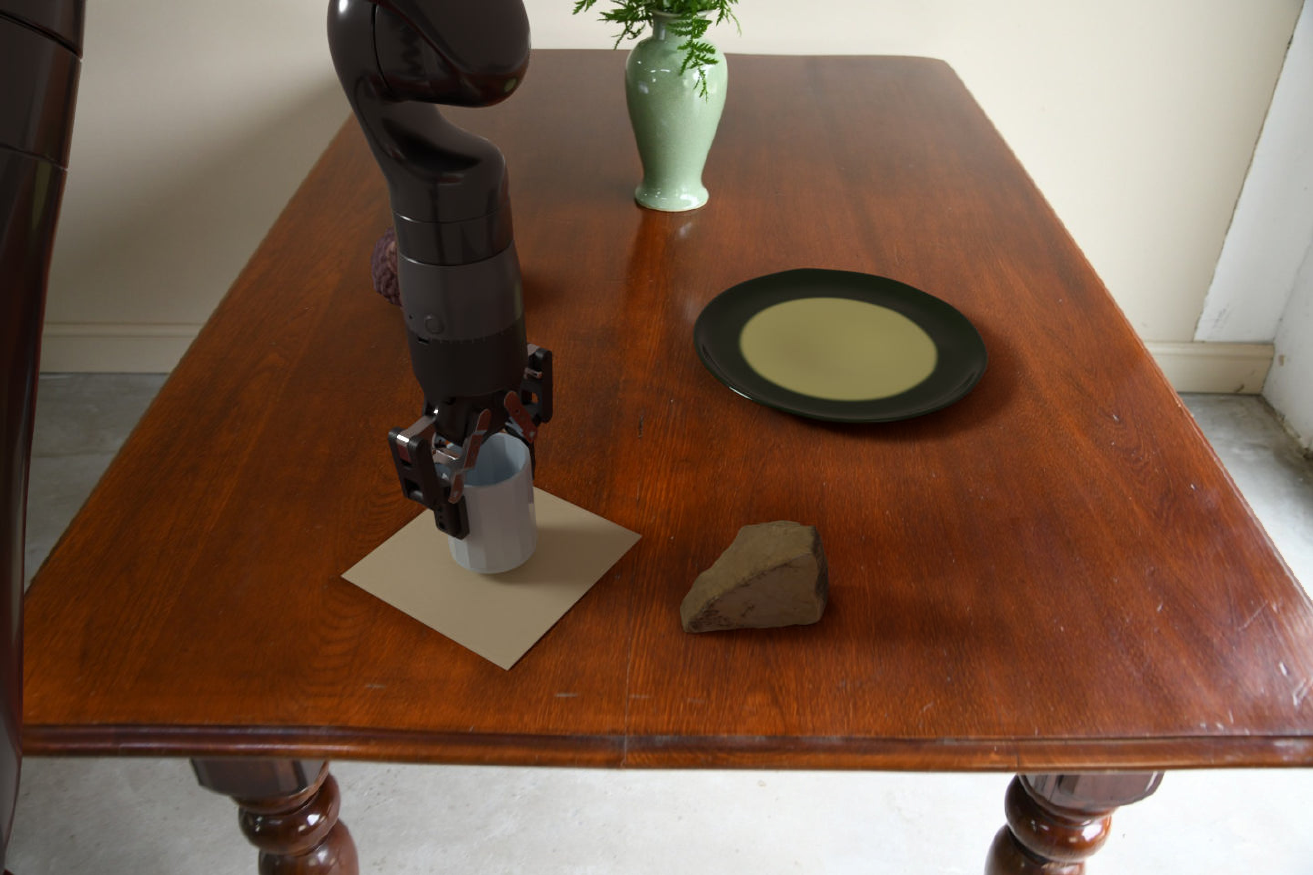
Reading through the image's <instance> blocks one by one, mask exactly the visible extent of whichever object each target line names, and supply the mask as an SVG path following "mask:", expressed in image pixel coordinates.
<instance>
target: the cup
mask: <svg viewBox="0 0 1313 875" xmlns="http://www.w3.org/2000/svg"><path fill="white" fill-rule="evenodd" d="M446 446H447V448H448V449H449V450H451V451H454V452H456V453H458V454H460V455H461V451H462V448H461V447H459V446H457V445H454V444H452V443H450V442H449V443H448V444H446ZM450 473H451V470H450V468H449V467H448V466H446V465H445V469H444V473H443V477H442V478H443V479H445V480H447V481H449V477H450ZM533 486H534V480H532V469H531V458H530V452H529V448H528V447H527V446H526V445H525V444H524V443H523V442H522V441H521V440H520V439H518V438H516V437H514V436H511V435H509V434H508V433H506V432H499V433H497V434H494V435H492V436H490V437H489V438H488V440H487V441H486V442H485V443H484V444H483V445H482V446H480V450H479V454H478V458H477V462H476V466H475V468H474V469H473V470H472V471H469V472H468V473H467V477H466V481H465V485H464V489H463V493H462V495H463V496H465V501H466V508H467V515H468V522H469V529H470V534H469V535H467V536H466V537H465V538H464V539H463V540H459V539H457V538H455V537H452V536H450V535H448V534H447V537H448V543H449V549H450V552H451V555H452V557H453V559H454V560H455V561H456V562H457V563H458V564H459V565H460V566H462V567H463V568H465V569H467V570H470V571H473V572H477V573H485V574H492V573H500V572H505V571H508V570H511V569H514V568H516V567H518V566H520V565H521V564H523V563H524V562H525V561H527V560H528V559H529V558H530V557H531V556H532V554H533V553H534V551H535V549H536V546H537V541H538V540H537V539H538V535H537V524H536V513H535V502H534V491H533Z"/></svg>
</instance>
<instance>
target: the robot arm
mask: <svg viewBox="0 0 1313 875" xmlns="http://www.w3.org/2000/svg"><path fill="white" fill-rule="evenodd" d="M87 12H88V0H0V875H16V874H15V873H13V872H12V871H11V870H8V868H6V866H7V861H8V857H9V854H10V850H11V846H12V842H13V838H14V833H15V829H16V823H17V818H18V811H19V802H20V801H19V800H20V793H21V784H22V783H21V782H22V767H23V742H24V738H23V736H24V682H25V681H24V680H25V679H24V672H25V671H24V670H25V669H24V667H25V665H24V663H25V660H24V659H25V655H24V654H25V572H26V571H25V569H26V568H25V567H26V566H25V564H26V563H25V562H26V561H25V560H26V536H27V534H26V532H27V514H28V513H27V511H28V510H27V509H28V500H29V498H28V496H29V486H30V485H29V484H30V476H31V475H30V473H31V472H30V471H31V461H32V450H33V440H34V432H35V422H36V413H37V401H38V393H39V392H38V391H39V382H40V372H41V371H40V370H41V360H42V359H41V358H42V349H43V348H42V346H43V340H44V331H45V330H44V329H45V320H46V311H47V301H48V294H49V288H50V287H49V286H50V278H51V270H52V265H53V259H54V253H55V246H56V241H57V235H58V230H59V223H60V219H61V218H60V217H61V212H62V206H63V201H64V197H65V196H64V195H65V191H66V185H67V181H68V180H67V179H68V174H69V173H68V168H69V165H70V159H71V151H72V141H73V134H74V127H75V119H76V110H77V104H78V96H79V89H80V80H81V72H82V66H83V65H82V61H81V60H82V59H83V57H84V48H85V38H86V37H85V36H86V25H87ZM326 38H327V44H328V50H329V53H330V57H331V61H332V63H333V68H334V71H335V73H336V75H337V78H338V81H339V83H340V85H341V88H342V91H343V93H344V95H345V97H346V99H347V101H348V103H349V106H350V108H351V110H352V112H353V114H354V116H355V118H356V121H357V123H358V125H359V127H360V130H361V131H362V134H363V135H364V139H365V140H366V142H367V145H368V147H369V150H370V152H371V155H372V157H373V158H374V160H375V162H376V164H377V167H378V169H379V170H380V173H381V175H382V178H383V180H384V183H385V185H386V190H387V197H388V203H389V209H390V214H391V215H390V216H391V219H392V227H394V233H395V239H396V246H397V270H398V284H399V291H400V297H401V303H402V309H403V312H402V315H403V321H404V328H405V332H406V338H407V346H408V350H409V357H410V362H411V370H412V373H413V375H414V377H415V379H416V380H417V382H418V384H419V386H420V388H421V390H422V392H423V403H422V407H421V408H422V409H421V417H420V418H419V419H418V420H417V421H416V422H414V423H413V424H412V425H410V426H409V427H408V428H407V429H404V428H403V427H400V426H398V425H397V426H394V427H392V428H391V430H390V431H389V432H388V435H387V443H388V445H389V448H390V452H391V456H392V459H393V462H394V466H395V470H396V473H397V476H398V481H399V485H400V488H401V491H402V494H403V497H404V498H406V499H408V500H410V501H414V502H415V503H417V504H419V505H421V506H424V507H425V508H426V509H430V510H432V511H433V512H434V515H435V516H434V518H435V524H436V527H437V528H438V530H440V531H442V532H444V533H446V534H448V535H450V536H452V537H455V538H457V539H459V540H463V539H464V538H465V537H466V536H467V535H469V534H470V529H469V522H468V515H467V508H466V501H465V496H463V495H462V493H463V489H464V485H465V481H466V477H467V473H468V472H469V471H472V470H473V469H474V468H475V466H476V462H477V458H478V454H479V450H480V446H482V445H483V444H484V443H485V442H486V441H487V440H488V438H489V437H490V436H492V435H494V434H497V433H501V432H503V433H506V434H509V435H511V436H514V437H516V438H518V439H520V440H521V441H522V442H523V443H524V444H525V445H526V446H527V447H528V448H529V452H530V458H531V469H532V480H533V481H535V478H536V477H535V471H536V466H537V461H536V450H535V441H536V440H537V438H538V435H539V429H538V428H539V426H540V425H541V424H548V423H550V422H551V420H552V418H553V415H554V380H553V379H554V375H553V373H554V372H553V369H554V368H553V366H554V365H553V362H554V360H553V351H552V350H549V349H547V348H545V347H542V346H539V345H536V344H534V343H531V342H528V338H527V336H528V335H527V324H526V314H525V303H524V302H525V301H524V290H523V279H522V271H521V265H520V258H519V254H518V251H517V246H516V241H515V236H514V223H513V211H512V201H511V199H512V198H511V192H510V179H509V170H508V164H507V161H506V158H505V155H504V154H503V152H502V150H501V148H499V147H498V146H497V145H496V144H495V143H494V142H492V141H491V140H489V139H488V138H485V137H483V136H481V135H478V134H475V133H473V132H471V131H469V130H466V129H465V128H461V127H460V126H458V125H456V124H454V123H453V122H451V121H450V120H448V119H447V118H446V117H445V116H444V114H442V112H441V111H440V109H439V108H438V105H440V106H449V107H457V108H465V109H466V108H468V109H483V108H490V107H493V106H496V105H499V104H501V103H503V102H505V101H506V100H507V99H509V98H510V97H511V96H513V94H514V93H515V91H517V90H518V88H519V87H520V86H521V84H522V83H523V81H524V79H525V76H526V74H527V71H528V69H529V65H530V61H531V54H532V32H531V24H530V20H529V16H528V12H527V10H526V5H525V2H524V1H523V0H328V5H327V12H326ZM533 394H534V395H535V396H536V399H537V401H534V400H533ZM447 442H448V443H449V444H450V443H452V444H454V445H457V446H459V447H461V448H462V451H461V455H460V454H458V453H456V452H454V451H451V450H449V449H448V448H447ZM445 465H446V466H448V467H449V468H450V470H451V473H450V477H449V481H447V480H445V479H443V478H442V477H443V473H444V469H445Z"/></svg>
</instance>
